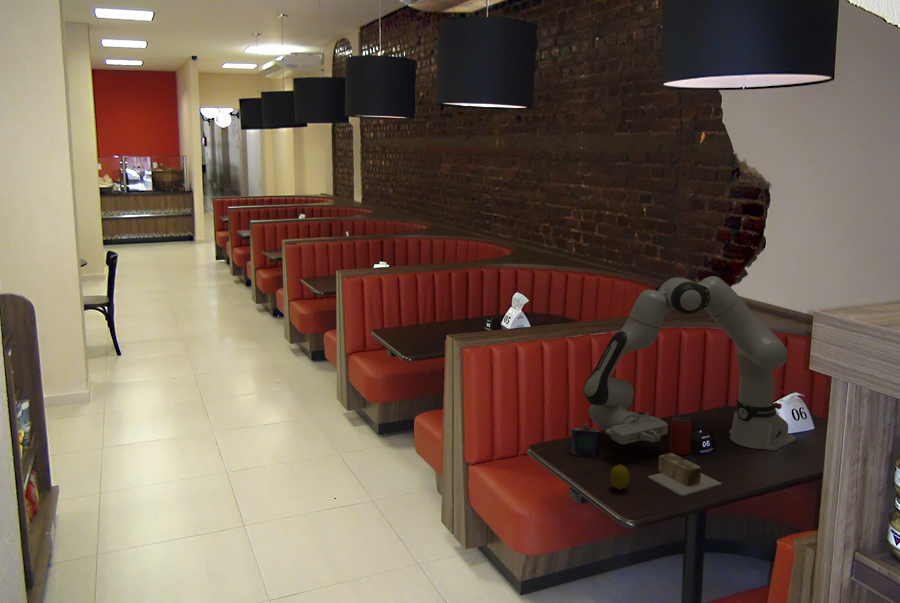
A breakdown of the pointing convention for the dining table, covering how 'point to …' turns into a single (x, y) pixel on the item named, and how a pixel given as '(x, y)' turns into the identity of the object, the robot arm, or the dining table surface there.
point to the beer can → (680, 435)
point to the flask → (585, 442)
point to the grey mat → (682, 488)
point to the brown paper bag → (679, 469)
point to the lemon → (619, 477)
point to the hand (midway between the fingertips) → (656, 439)
